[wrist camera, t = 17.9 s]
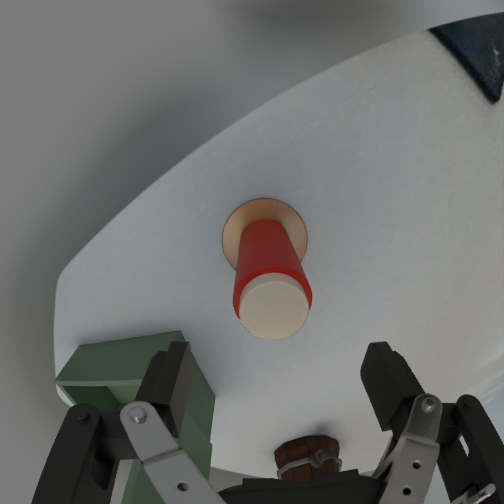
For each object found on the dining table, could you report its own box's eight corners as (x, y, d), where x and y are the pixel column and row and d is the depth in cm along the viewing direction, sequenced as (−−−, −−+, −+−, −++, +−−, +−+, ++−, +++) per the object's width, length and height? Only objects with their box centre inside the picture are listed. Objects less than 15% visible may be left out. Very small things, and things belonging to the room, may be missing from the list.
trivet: (205, 240, 27) (204, 242, 26) (264, 180, 25) (265, 180, 24) (263, 292, 29) (264, 295, 28) (322, 239, 27) (324, 241, 26)
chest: (120, 402, 36) (105, 438, 29) (79, 345, 32) (54, 380, 25) (215, 397, 34) (209, 442, 27) (180, 330, 30) (163, 377, 23)
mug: (326, 461, 43) (338, 520, 29) (268, 463, 42) (271, 527, 28) (356, 420, 37) (379, 493, 23) (286, 422, 37) (295, 506, 23)
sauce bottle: (229, 243, 26) (213, 313, 15) (265, 208, 25) (276, 256, 14) (264, 275, 27) (272, 358, 16) (299, 243, 26) (332, 311, 15)
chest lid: (192, 571, 10) (245, 575, 10) (108, 550, 6) (180, 570, 6) (206, 445, 27) (247, 441, 26) (158, 380, 23) (208, 375, 22)
